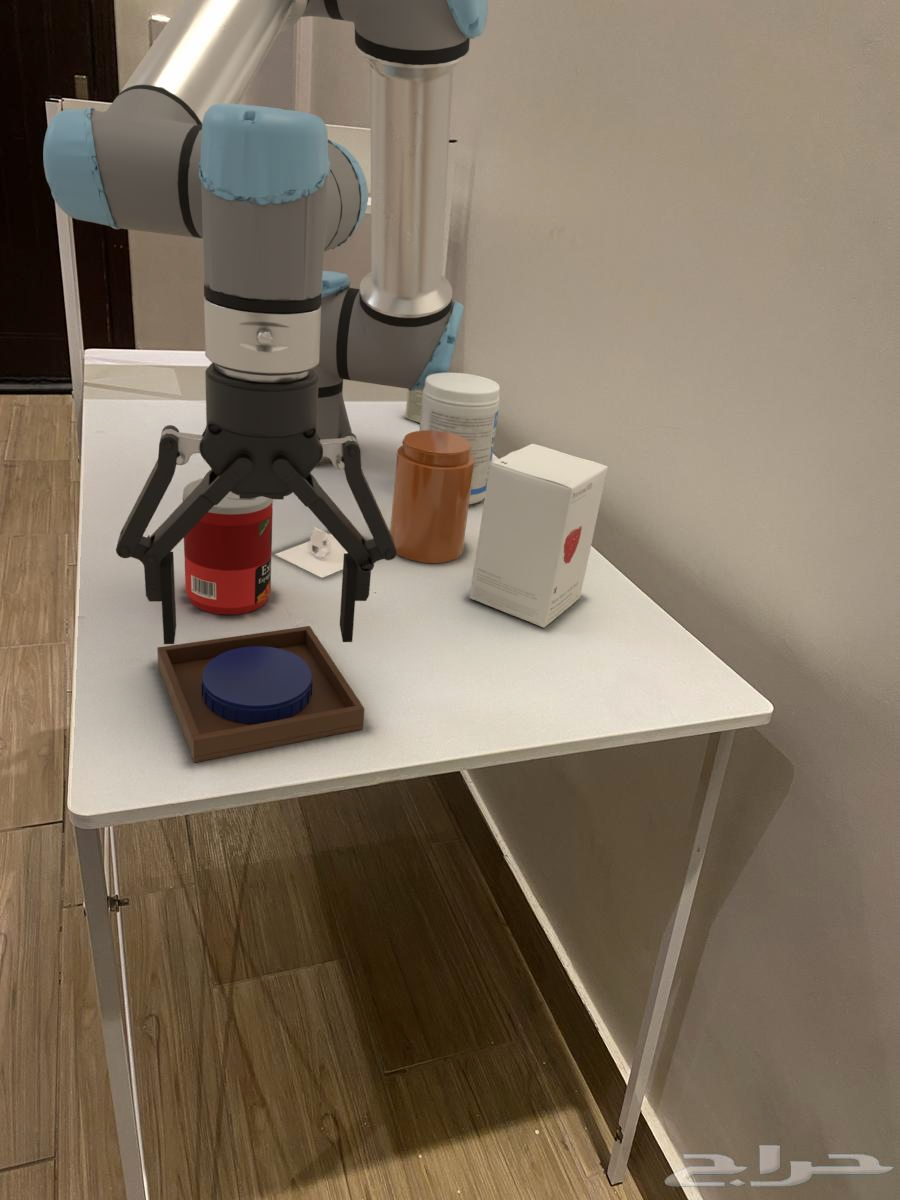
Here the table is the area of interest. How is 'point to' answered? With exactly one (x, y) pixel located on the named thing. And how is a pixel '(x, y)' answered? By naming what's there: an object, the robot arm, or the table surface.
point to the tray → (220, 737)
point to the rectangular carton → (536, 532)
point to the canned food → (229, 555)
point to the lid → (256, 684)
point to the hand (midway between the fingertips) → (259, 634)
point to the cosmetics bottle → (414, 404)
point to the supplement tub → (464, 417)
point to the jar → (431, 496)
